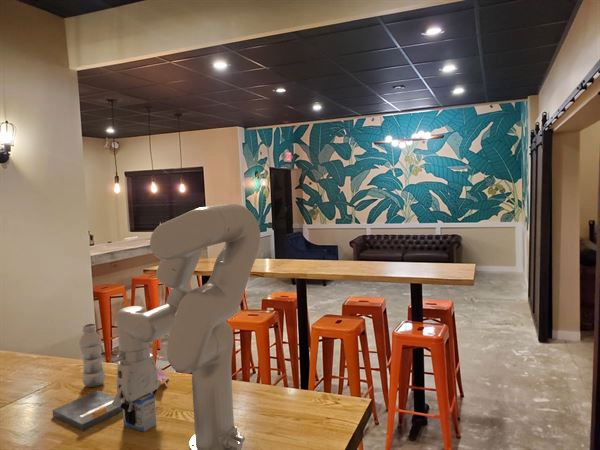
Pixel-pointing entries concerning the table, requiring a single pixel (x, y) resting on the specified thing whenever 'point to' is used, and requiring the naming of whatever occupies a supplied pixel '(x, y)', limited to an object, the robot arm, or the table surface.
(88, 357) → the plastic bottle
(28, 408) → the table surface
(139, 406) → the medicine box
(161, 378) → the lily
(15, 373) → the table surface
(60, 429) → the table surface
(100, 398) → the white-edged grey panel
